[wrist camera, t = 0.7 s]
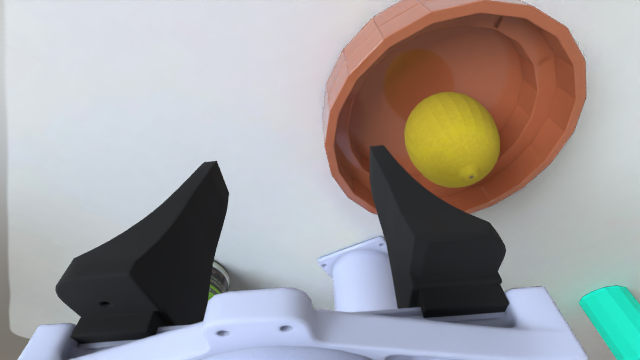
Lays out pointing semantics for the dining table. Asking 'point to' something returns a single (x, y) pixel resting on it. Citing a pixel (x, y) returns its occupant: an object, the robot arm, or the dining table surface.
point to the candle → (615, 319)
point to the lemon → (452, 139)
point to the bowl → (455, 90)
